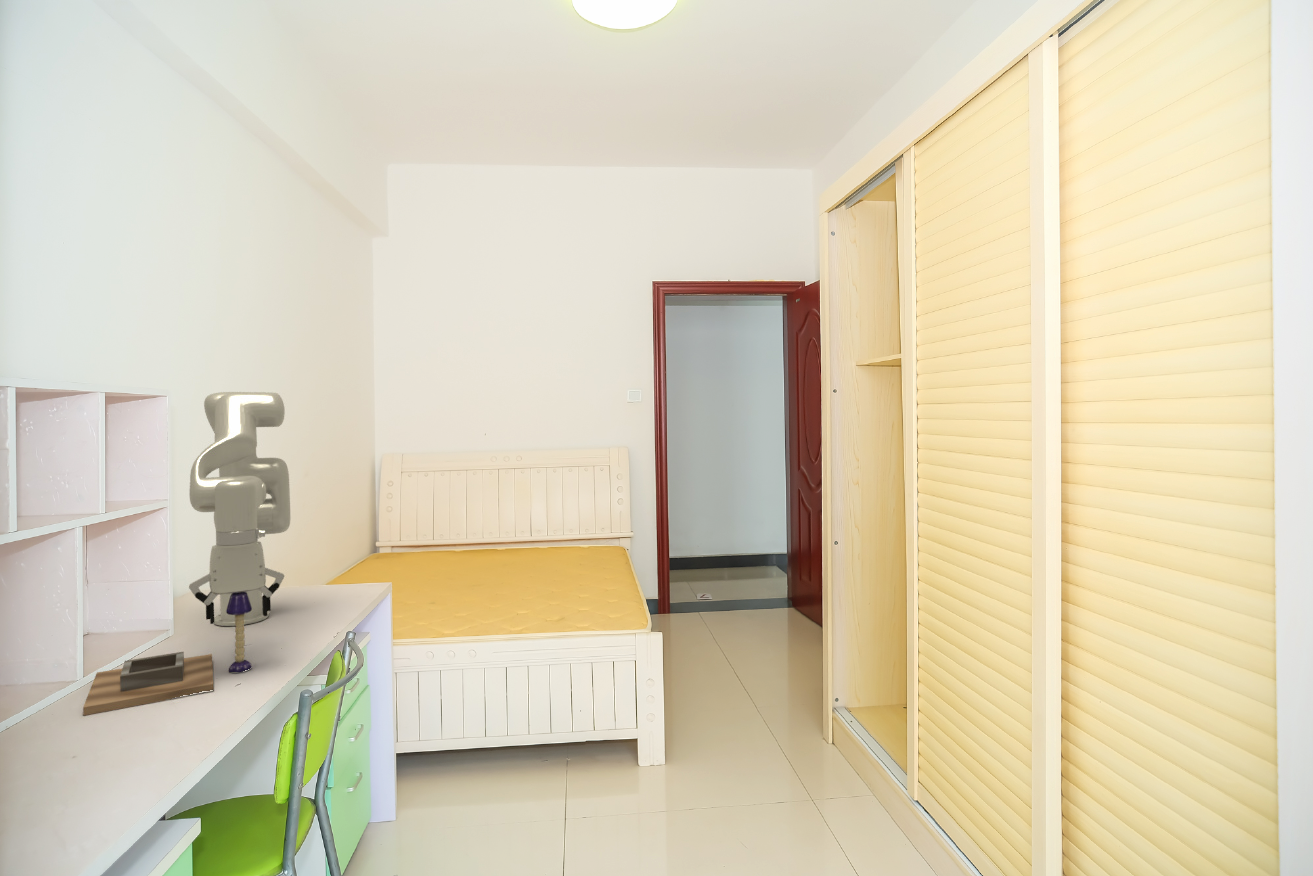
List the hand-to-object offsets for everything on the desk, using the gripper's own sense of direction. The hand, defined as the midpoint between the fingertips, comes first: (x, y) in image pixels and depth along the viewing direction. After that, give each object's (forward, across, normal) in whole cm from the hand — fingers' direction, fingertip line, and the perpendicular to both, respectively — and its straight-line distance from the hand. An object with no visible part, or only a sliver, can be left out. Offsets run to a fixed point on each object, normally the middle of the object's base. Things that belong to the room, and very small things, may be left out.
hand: (239, 618), depth 148 cm
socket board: (+11, +15, -1) cm, 19 cm away
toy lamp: (+12, 0, -1) cm, 12 cm away
